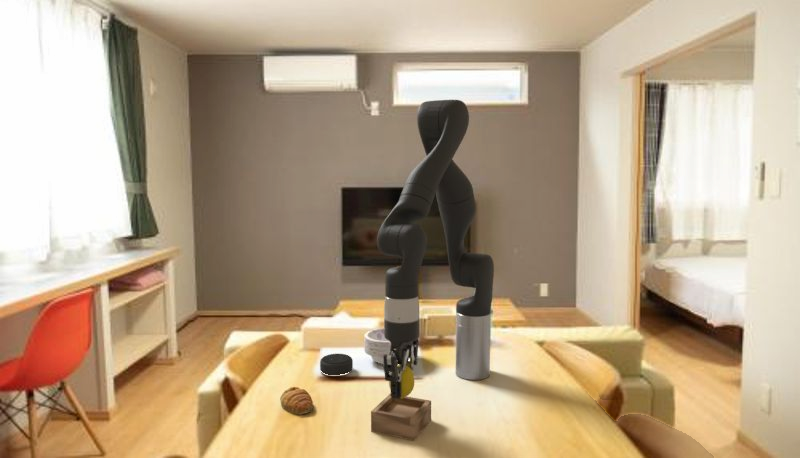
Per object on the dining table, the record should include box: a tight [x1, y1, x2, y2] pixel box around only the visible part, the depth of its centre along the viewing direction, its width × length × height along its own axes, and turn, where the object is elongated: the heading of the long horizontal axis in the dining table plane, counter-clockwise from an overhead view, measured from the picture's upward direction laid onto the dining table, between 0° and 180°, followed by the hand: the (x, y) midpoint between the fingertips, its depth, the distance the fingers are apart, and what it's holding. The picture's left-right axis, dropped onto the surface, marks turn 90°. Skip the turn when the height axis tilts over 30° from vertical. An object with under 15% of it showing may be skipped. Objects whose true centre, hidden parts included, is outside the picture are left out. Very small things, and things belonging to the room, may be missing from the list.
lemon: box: [388, 364, 415, 399], centre depth 119 cm, size 6×6×8 cm
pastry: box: [279, 386, 314, 416], centre depth 130 cm, size 9×7×4 cm
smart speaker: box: [319, 353, 354, 375], centre depth 152 cm, size 9×9×4 cm
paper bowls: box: [363, 327, 398, 365], centre depth 160 cm, size 15×15×8 cm
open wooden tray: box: [370, 393, 432, 441], centre depth 120 cm, size 10×10×4 cm
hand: (401, 391), depth 120 cm, fingers closed on lemon, 5 cm apart
